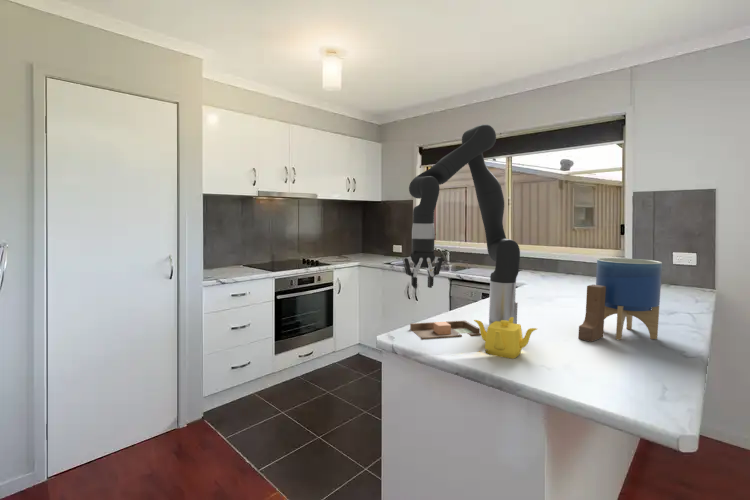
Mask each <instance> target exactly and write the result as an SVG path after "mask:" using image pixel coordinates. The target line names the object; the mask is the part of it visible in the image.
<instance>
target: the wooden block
mask: <svg viewBox="0 0 750 500" xmlns="http://www.w3.org/2000/svg"><path fill="white" fill-rule="evenodd" d="M605 293H606V286H601V285H596V284H590V285H586V298H585V299H586V301H585V302H586V303H585V314H584V315H585V316H584V320H583V322H582V324H580V325H579V326H578V339H579V340H582V341H587V342H590V343H591V342H592V343H593V342H594V341H597V340H600V339H602V338H604V330H605V327H604V326H605V319H604V312H605Z"/></svg>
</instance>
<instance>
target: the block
mask: <svg viewBox="0 0 750 500" xmlns="http://www.w3.org/2000/svg"><path fill="white" fill-rule="evenodd" d="M433 322H434V328H433V331H434V332H436V333H437V334H438V335H439V334H451V325H450V324H449V323H447V322H446V321H433Z"/></svg>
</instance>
